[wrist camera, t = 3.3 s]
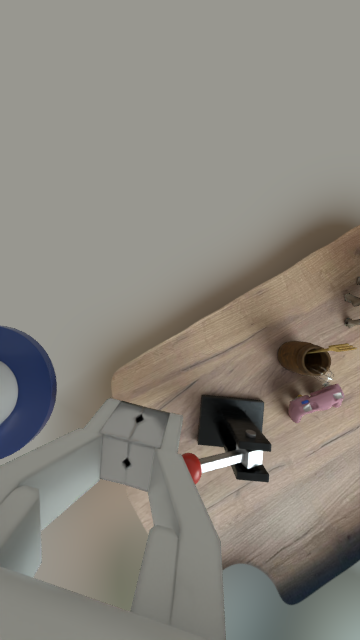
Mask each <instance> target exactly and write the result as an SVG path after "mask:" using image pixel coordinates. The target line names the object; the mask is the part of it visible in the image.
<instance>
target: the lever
mask: <svg viewBox="0 0 360 640" xmlns="http://www.w3.org/2000/svg"><path fill="white" fill-rule="evenodd" d="M182 457H183V459H184V461H185V463H186V466H187V468H188V470H189V472H190V475H191V477H192V479H193V481H194V483H195V484H196V483H197V482H198V481H199V480H200V478H201V474H202V473H204V472H208V471H211V470H215V469H218V468H222V467H225V466H229V465H233V464H236V463H240V462H241V463H242V464H243V465H244V466H245V467H246V468H247V469H249V468H252V467H255V466H259V465H262V458H263V451H258V450H248V449H239V448H238V446H237V444H236V450H234V451H230V452H226V453H222V454H218V455H213V456H209V457H205V458H201V459H198V458H197V456H195V455H194V454H192V453H185V454H183V455H182Z"/></svg>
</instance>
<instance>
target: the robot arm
mask: <svg viewBox="0 0 360 640" xmlns="http://www.w3.org/2000/svg"><path fill="white" fill-rule="evenodd" d="M17 398H18V384H17V380H16V378H15V376H14V374H13V372H12V371H11V369H10V368H9V367H8V366H7V365H6V364H4V363H3V362H1V361H0V425H1V423H2V422H3V421H4V420H5V419H6V418H7V417H8V416H9V415H10V414H11V412H12V411H13V409H14V407H15V405H16V402H17ZM182 422H183V415H180V414H175V413H169V412H165V411H160V410H156V409H152V408H147V407H143V406H140V405H136V404H132V403H128V402H125V401H120V400H116V399H112V398H109V399H107V400H106V401H105V403H104V404H103V405H102V406H101V408H100V409H99V410H98V411H97V412H96V414H95V415H94V416H93V417H92V419H91V420H90V421H89V423H88V424H87V425H86V426H85V427H84V429H80V428H78V429H76V430H74V431H72V432H70V433H68V434H66V435H64V436H62V437H60V438H57V439H56V440H53V441H51V442H49V443H47V444H45V445H43V446H41V447H39V448H37V449H35V450H32V451H30V452H28V453H26V454H24V455H22V456H20V457H18V458H16V459H14V460H12V461H9V462H7V463H5V464H3V465H1V466H0V640H226V633H225V615H224V595H223V577H222V556H221V541H220V539H219V537H218V535H217V532H216V530H215V528H214V526H213V523H212V521H211V519H210V517H209V515H208V512H207V510H206V508H205V506H204V503H203V501H202V499H201V497H200V495H199V492H198V490H197V488H196V486H195V483H194V481H193V479H192V477H191V475H190V472H189V470H188V468H187V466H186V463H185V461H184V459H183V457H182V455H181V454H177V452H178V446H179V440H180V434H181V428H182ZM99 478H100V479H104V480H108V481H112V482H116V483H120V484H124V485H127V486H130V487H133V488H137V489H140V490H143V491H146V492H148V495H149V501H150V506H151V512H152V517H153V523H154V527H153V528H151V529H150V531H149V535H148V540H147V544H146V548H145V552H144V557H143V561H142V565H141V569H140V574H139V577H138V582H137V586H136V590H135V594H134V598H133V603H132V607H131V611H127V610H124V609H121V608H119V607H116V606H113V605H110V604H107V603H104V602H101V601H98V600H96V599H93V598H90V597H87V596H84V595H81V594H78V593H75V592H73V591H70V590H67V589H64V588H61V587H58V586H55V585H52V584H49V583H46V582H44V581H41V580H38V579H35V578H33V577H34V575H35V573H36V571H37V570H38V568H39V566H40V564H41V562H42V552H41V531H42V530H43V529H44V528H45V527H46V526H47V525H48V524H50V523H51V522H52V521H53V520H54V519H55V518H57V517H58V516H59V515H60V514H61V513H63V512H64V511H65V510H66V509H67V508H68V507H69V506H71V505H72V504H73V503H74V502H75V501H76V500H77V499H79V498H80V497H81V496H82V495H83V494H84V493H86V492H87V491H88V490H89V489H90V488H91V487H92V486H93V485H95V484H96V483H97V482H98V481H99Z"/></svg>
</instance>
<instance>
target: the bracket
mask: <svg viewBox="0 0 360 640" xmlns="http://www.w3.org/2000/svg"><path fill="white" fill-rule="evenodd" d="M263 411H264V402H263V401H262V400H254V399H243V398H233V397H223V396H212V395H202V397H201V408H200V418H199V429H198V440H197V441H198V445H208V446H219V447H224V449H225V452H230V451H234V450H236V444H237V446H238V448H239V449H248V450H258V451H269V452H271V443H270V442H269V441H268V440H267V439H266V437H265V436H264V435H263V434H262V425H263ZM231 467H232V469H233V472H234V474H235V476H236V479H239V480H250V481H261V482H269V474H268V472H267V471H266V469H265V468H264V466H263V465H259V466H255V467H252V468H249V469H247V468H246V467H245V466H244V465H243V464H242V463H241V462H240V463H236V464H233V465H231Z"/></svg>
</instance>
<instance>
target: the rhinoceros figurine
mask: <svg viewBox="0 0 360 640" xmlns="http://www.w3.org/2000/svg"><path fill="white" fill-rule="evenodd" d="M357 280H358V281H357V285H358V284H359V285H360V277H358V279H357ZM345 301H348V302H352V304H353V306H359V305H360V298H358V297H356V296H354V295H351V294H350V293H349V294H346V295H345ZM345 322H348V323H349V324H345V325H346V326H348V327H349V328H351V327H353V326H355V325H360V319H358V320H352V319H350V318H347V320H345Z"/></svg>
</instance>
